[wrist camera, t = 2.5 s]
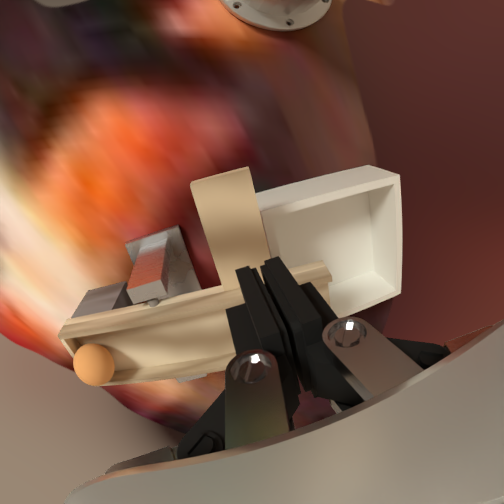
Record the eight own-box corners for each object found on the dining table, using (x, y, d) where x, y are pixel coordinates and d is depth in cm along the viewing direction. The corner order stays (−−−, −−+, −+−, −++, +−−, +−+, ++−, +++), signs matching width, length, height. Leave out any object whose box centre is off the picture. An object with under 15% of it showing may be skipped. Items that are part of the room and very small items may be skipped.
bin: (247, 195, 31) (260, 211, 25) (368, 165, 32) (399, 174, 26) (275, 307, 37) (289, 337, 32) (376, 271, 38) (400, 293, 33)
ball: (77, 334, 24) (58, 363, 21) (107, 333, 23) (88, 365, 20) (97, 363, 26) (82, 392, 22) (127, 364, 25) (113, 396, 22)
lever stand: (126, 241, 30) (106, 286, 21) (178, 224, 30) (175, 264, 22) (169, 333, 36) (168, 390, 27) (214, 320, 36) (224, 376, 28)
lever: (51, 221, 25) (11, 253, 18) (289, 146, 24) (314, 159, 17) (114, 342, 32) (97, 389, 25) (316, 298, 31) (338, 346, 24)
